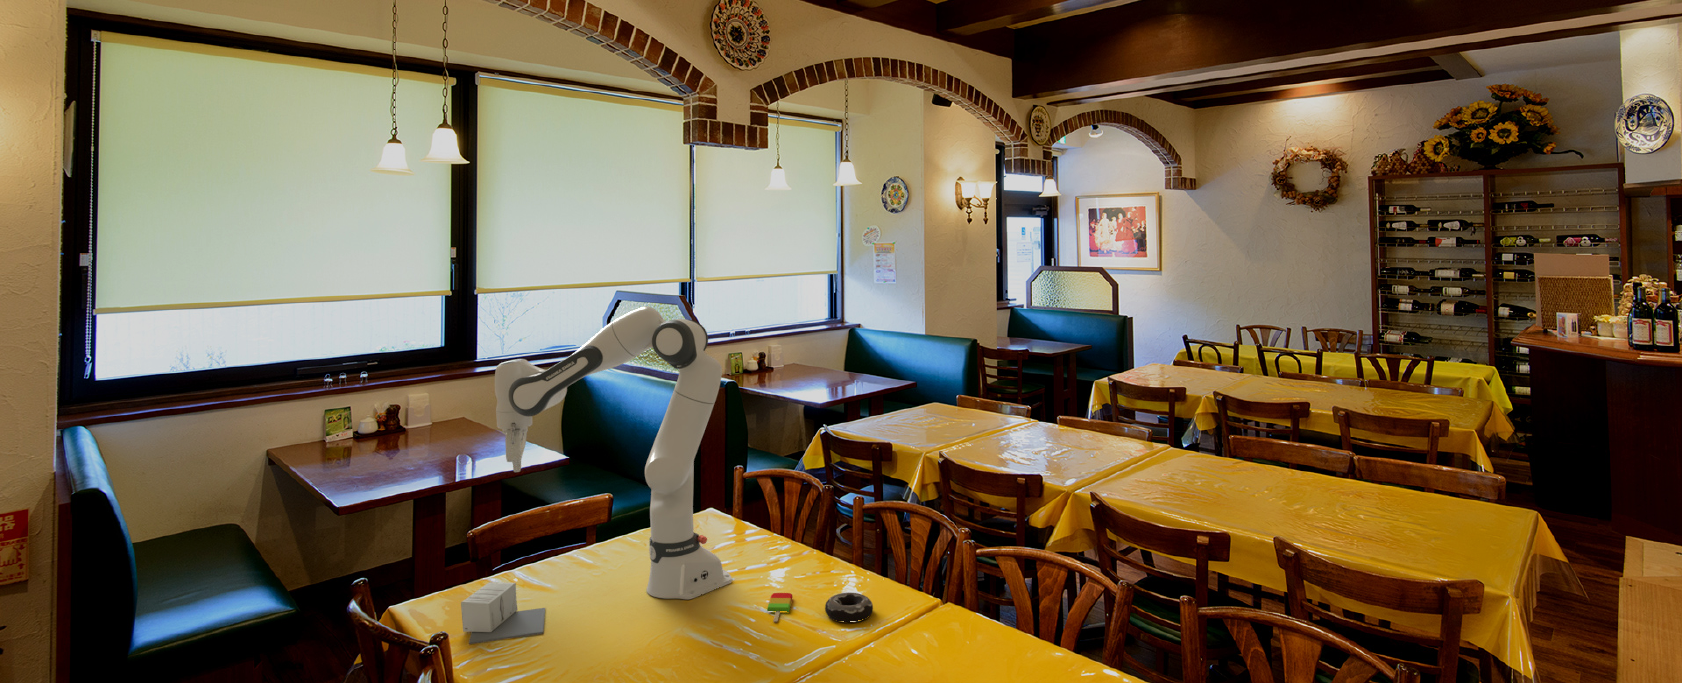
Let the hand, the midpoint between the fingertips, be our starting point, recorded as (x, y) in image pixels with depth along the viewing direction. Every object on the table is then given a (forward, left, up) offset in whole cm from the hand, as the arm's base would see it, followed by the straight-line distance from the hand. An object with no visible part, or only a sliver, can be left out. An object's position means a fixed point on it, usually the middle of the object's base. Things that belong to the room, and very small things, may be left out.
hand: (517, 470), depth 221 cm
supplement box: (+9, +16, -27) cm, 33 cm away
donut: (-56, +72, -32) cm, 97 cm away
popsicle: (-44, +59, -32) cm, 80 cm away
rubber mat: (+11, +25, -31) cm, 42 cm away
